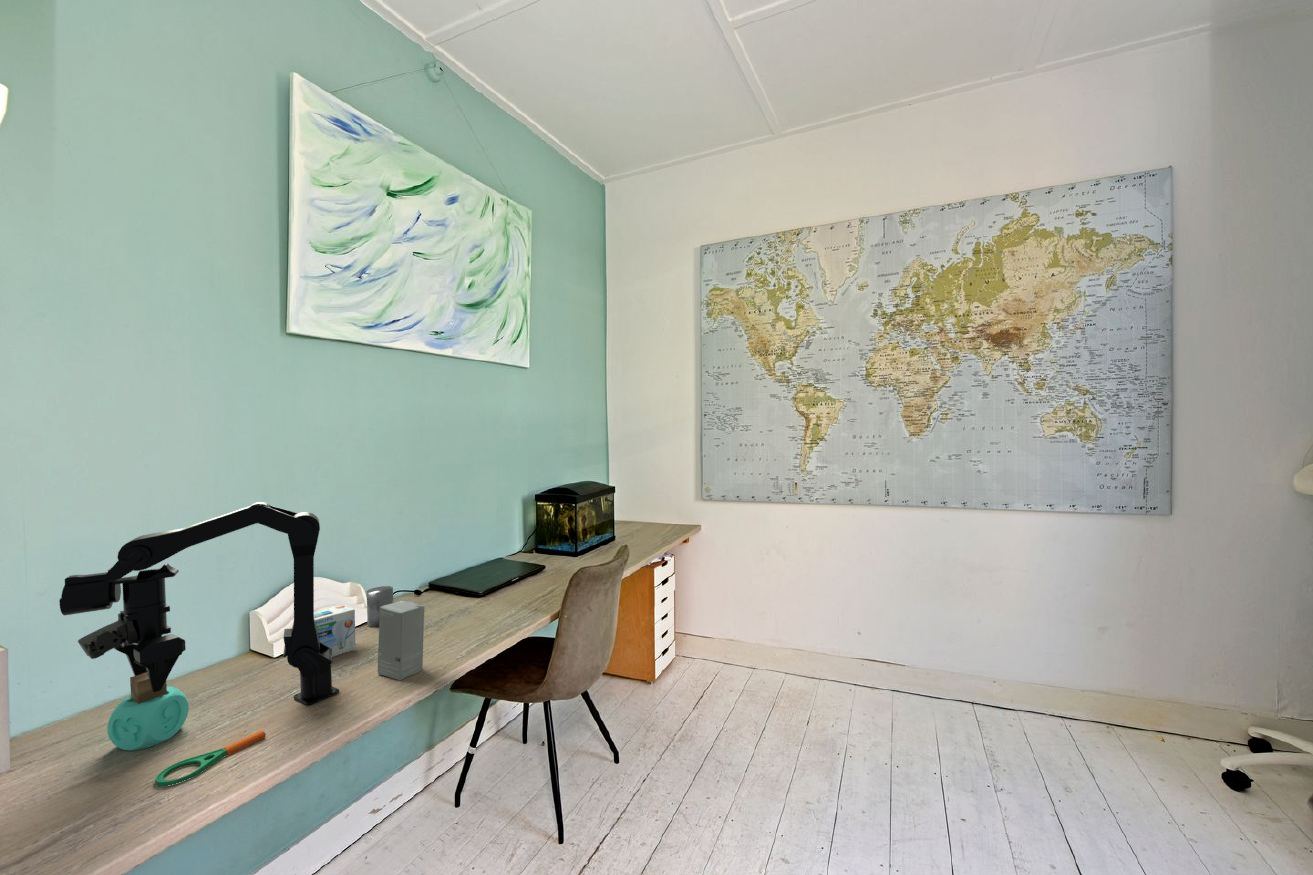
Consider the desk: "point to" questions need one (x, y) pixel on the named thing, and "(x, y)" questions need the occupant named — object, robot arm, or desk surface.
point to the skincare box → (400, 639)
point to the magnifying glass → (206, 759)
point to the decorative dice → (147, 720)
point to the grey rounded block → (377, 603)
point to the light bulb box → (336, 628)
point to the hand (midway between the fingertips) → (148, 685)
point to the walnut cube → (144, 689)
